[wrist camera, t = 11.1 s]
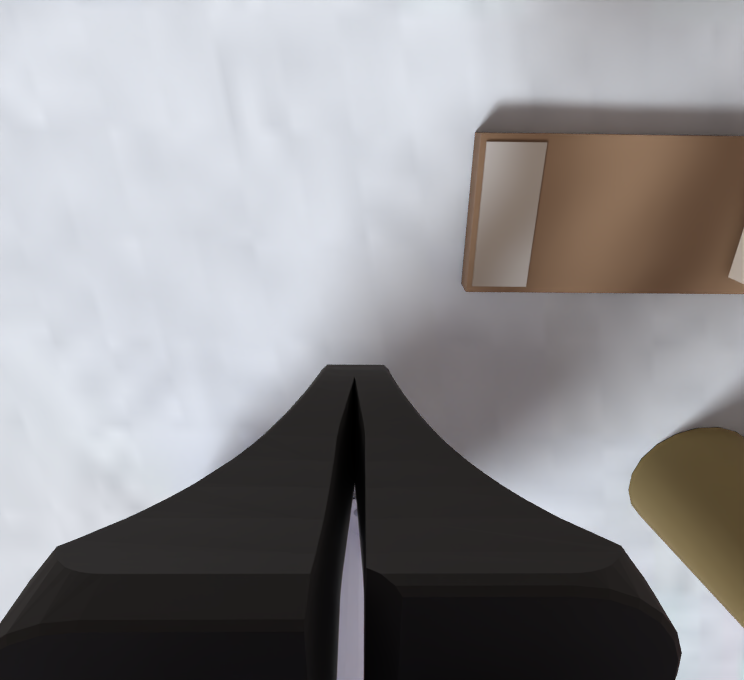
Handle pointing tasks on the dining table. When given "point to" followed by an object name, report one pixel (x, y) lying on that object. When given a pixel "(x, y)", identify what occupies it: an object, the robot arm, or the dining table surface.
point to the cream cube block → (738, 263)
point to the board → (604, 213)
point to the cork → (698, 506)
